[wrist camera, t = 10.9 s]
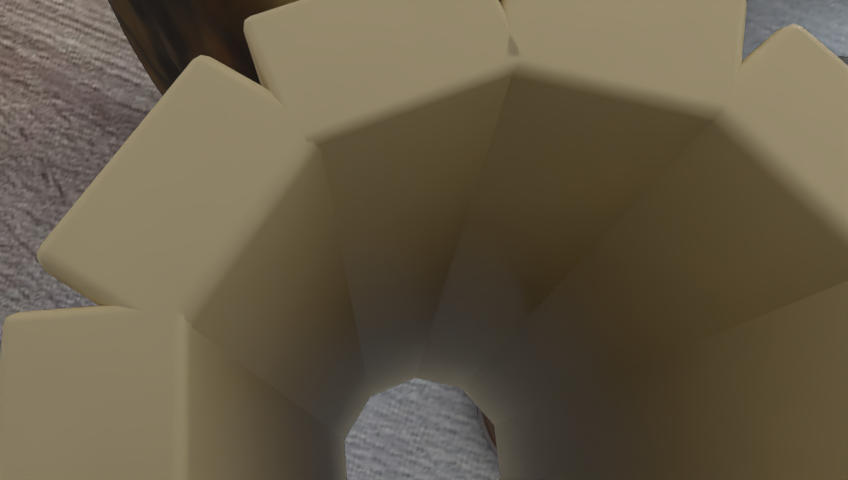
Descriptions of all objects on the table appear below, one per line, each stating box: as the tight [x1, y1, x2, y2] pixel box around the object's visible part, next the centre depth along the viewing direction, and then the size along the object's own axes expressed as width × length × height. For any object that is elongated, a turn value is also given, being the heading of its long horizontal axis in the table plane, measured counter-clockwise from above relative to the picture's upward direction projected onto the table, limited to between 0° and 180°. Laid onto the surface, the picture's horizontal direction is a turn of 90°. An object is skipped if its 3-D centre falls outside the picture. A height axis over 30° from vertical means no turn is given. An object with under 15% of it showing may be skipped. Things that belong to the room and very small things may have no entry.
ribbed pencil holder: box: [0, 0, 848, 480], centre depth 9 cm, size 5×5×12 cm
